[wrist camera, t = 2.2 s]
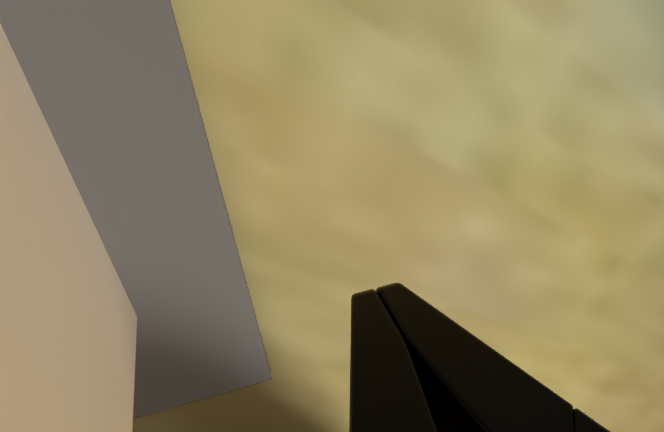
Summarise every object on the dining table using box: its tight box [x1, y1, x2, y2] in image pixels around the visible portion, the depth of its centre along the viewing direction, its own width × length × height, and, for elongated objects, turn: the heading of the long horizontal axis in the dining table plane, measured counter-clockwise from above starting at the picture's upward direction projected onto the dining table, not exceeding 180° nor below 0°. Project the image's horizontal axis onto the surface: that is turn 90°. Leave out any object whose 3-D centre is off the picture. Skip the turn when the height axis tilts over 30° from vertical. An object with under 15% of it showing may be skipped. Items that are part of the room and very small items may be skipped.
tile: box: [0, 24, 137, 432], centre depth 9 cm, size 9×2×9 cm, turn 6°
